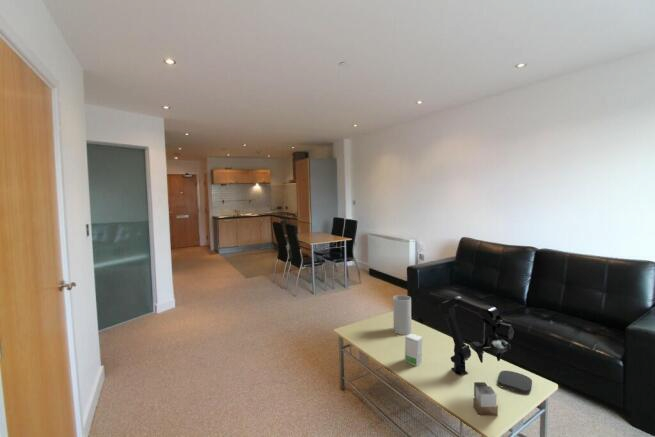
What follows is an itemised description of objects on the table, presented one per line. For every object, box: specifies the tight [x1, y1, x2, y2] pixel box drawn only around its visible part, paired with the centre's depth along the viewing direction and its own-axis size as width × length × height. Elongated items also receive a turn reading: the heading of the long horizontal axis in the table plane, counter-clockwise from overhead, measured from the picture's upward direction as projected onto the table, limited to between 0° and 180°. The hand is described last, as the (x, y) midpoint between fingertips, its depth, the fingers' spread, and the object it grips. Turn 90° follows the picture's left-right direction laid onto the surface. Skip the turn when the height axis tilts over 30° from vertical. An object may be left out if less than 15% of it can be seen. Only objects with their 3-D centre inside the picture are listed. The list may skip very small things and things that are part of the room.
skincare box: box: [404, 332, 423, 367], centre depth 188 cm, size 8×7×16 cm
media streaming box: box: [497, 370, 533, 395], centre depth 164 cm, size 15×15×3 cm
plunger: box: [473, 381, 488, 398], centre depth 146 cm, size 8×5×7 cm, turn 177°
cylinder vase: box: [392, 294, 412, 336], centre depth 229 cm, size 12×12×25 cm
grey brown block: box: [472, 385, 499, 417], centre depth 144 cm, size 6×8×10 cm
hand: (489, 361), depth 162 cm, fingers open, 9 cm apart
